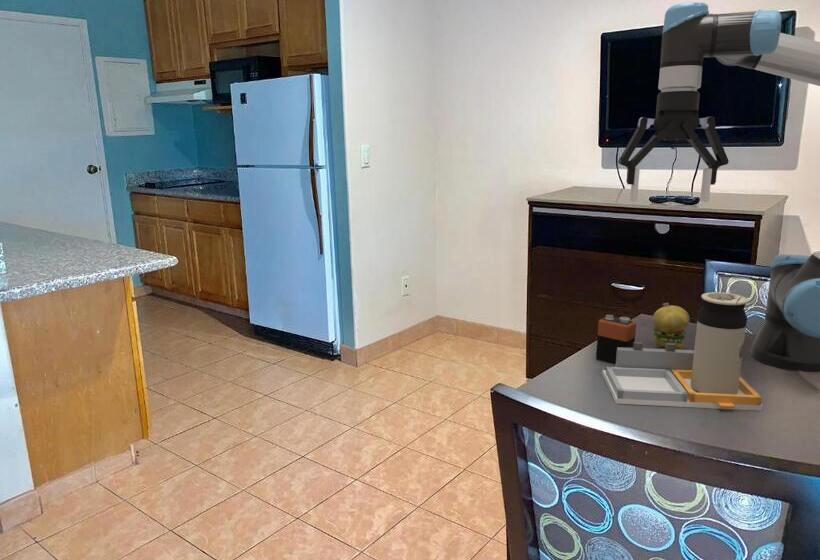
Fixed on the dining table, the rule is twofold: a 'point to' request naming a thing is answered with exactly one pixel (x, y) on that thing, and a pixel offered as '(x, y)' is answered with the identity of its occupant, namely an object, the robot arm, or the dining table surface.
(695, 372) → the travel mug
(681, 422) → the dining table surface
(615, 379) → the grey orange flat box
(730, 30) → the robot arm
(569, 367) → the dining table surface
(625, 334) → the battery
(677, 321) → the hamburger
